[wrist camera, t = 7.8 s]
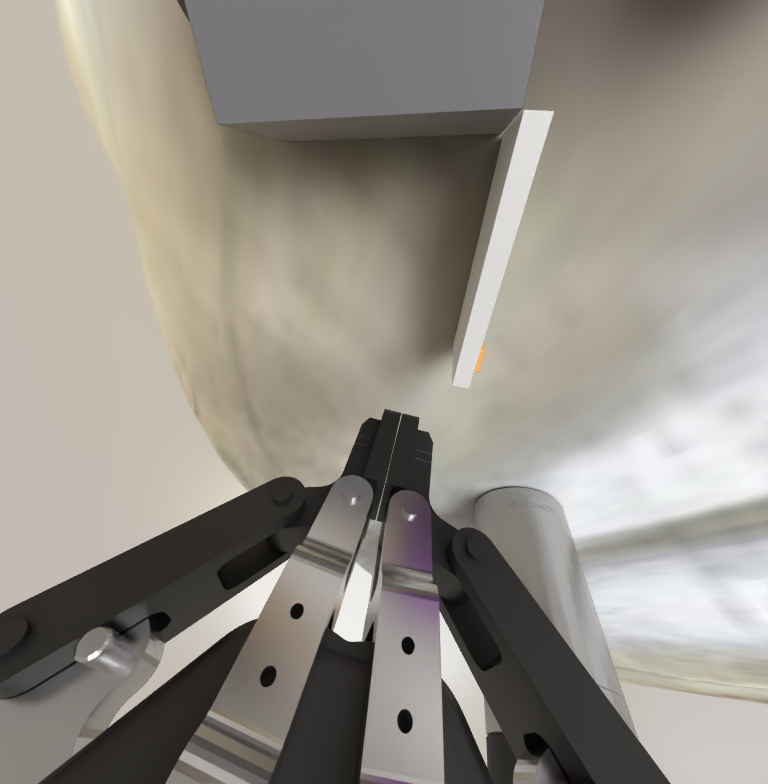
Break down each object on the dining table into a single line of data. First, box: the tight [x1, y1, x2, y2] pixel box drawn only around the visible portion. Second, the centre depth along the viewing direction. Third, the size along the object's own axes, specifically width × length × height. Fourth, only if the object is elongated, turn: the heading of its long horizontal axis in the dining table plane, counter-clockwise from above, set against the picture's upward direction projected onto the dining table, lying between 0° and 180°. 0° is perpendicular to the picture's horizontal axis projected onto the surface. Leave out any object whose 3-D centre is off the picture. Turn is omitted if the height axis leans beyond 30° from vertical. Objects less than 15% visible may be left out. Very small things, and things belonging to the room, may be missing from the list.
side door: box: [452, 110, 554, 388], centre depth 15 cm, size 2×12×5 cm, turn 177°
